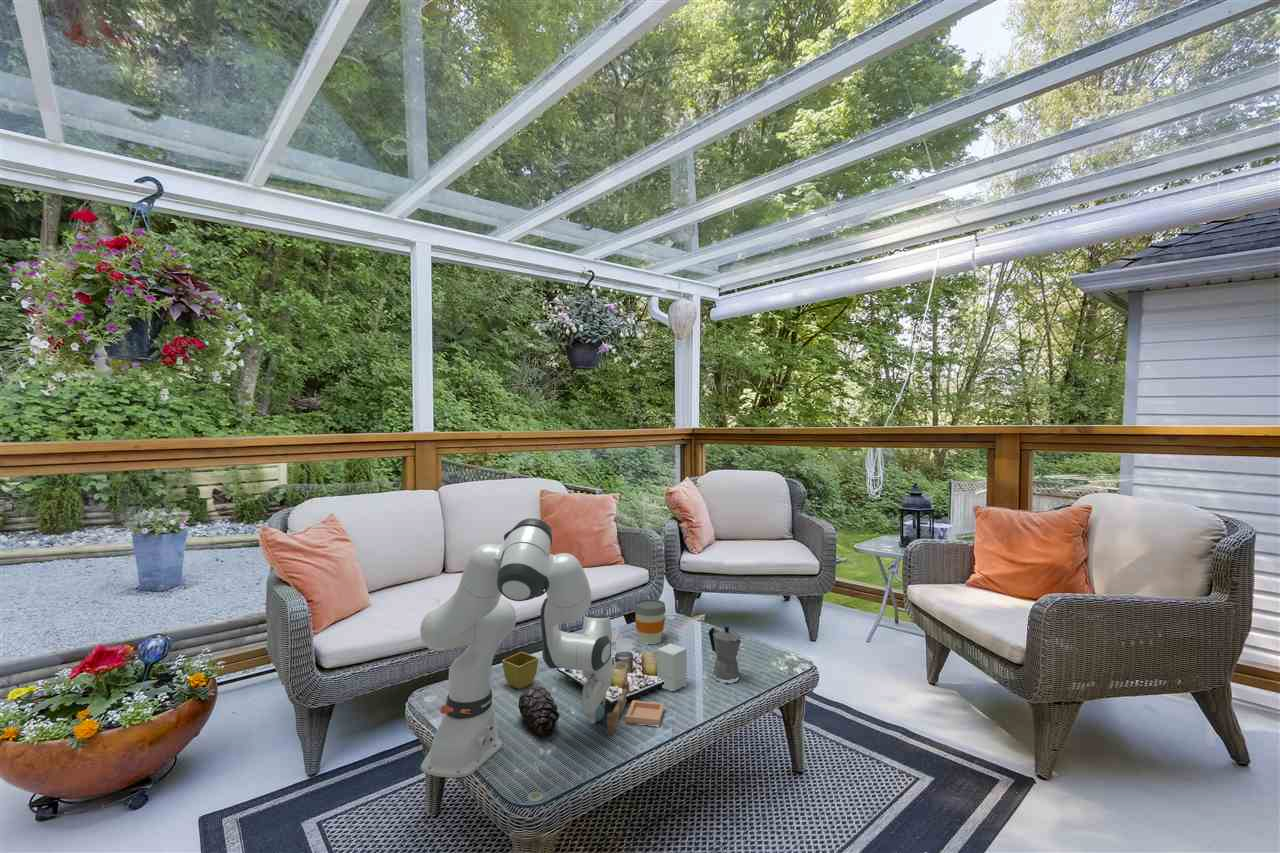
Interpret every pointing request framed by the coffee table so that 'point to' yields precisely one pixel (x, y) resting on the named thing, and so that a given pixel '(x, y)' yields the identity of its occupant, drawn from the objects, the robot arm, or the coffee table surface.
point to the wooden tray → (645, 713)
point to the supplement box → (672, 666)
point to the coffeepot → (725, 653)
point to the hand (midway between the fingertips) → (597, 714)
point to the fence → (617, 710)
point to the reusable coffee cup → (650, 620)
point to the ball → (599, 713)
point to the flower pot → (520, 669)
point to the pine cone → (538, 712)
